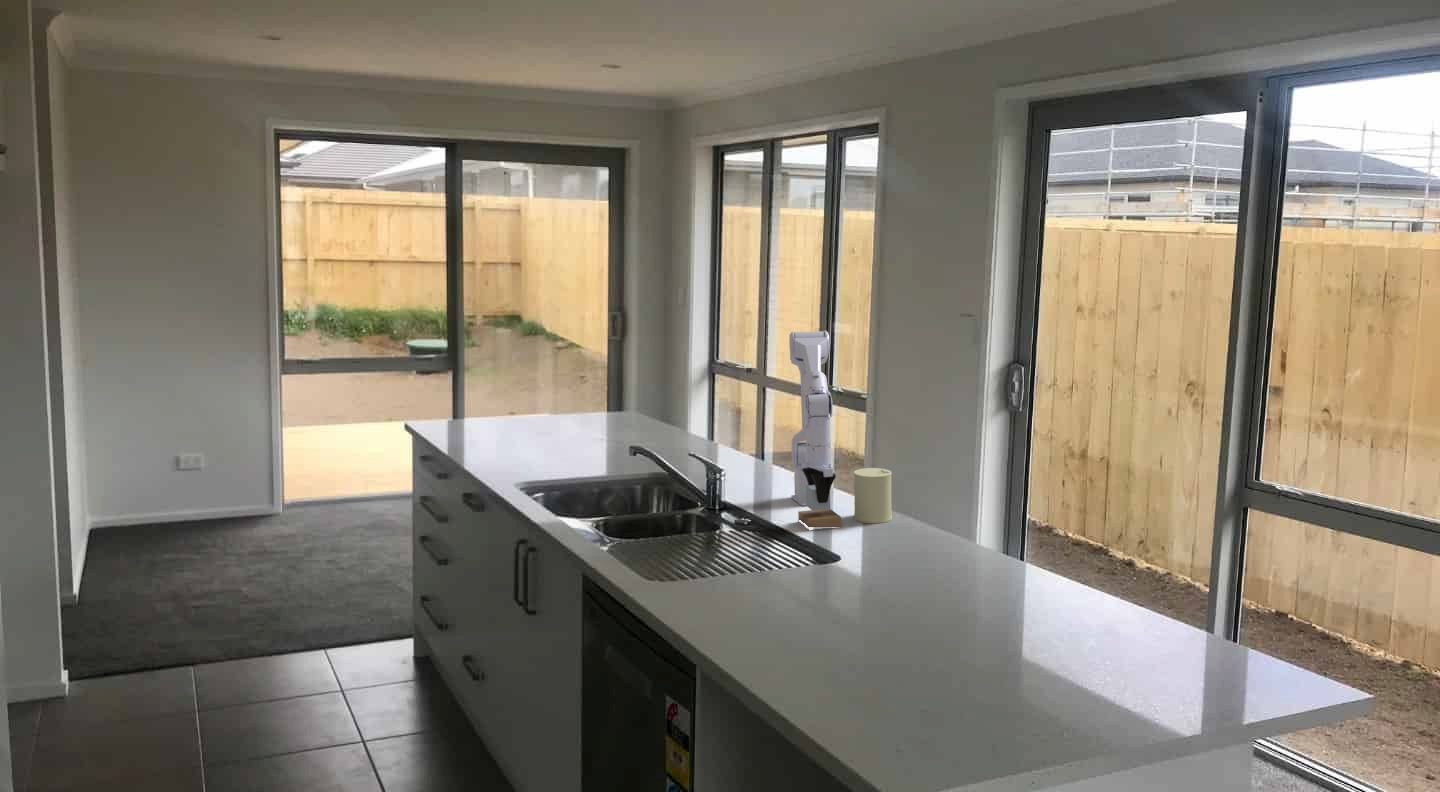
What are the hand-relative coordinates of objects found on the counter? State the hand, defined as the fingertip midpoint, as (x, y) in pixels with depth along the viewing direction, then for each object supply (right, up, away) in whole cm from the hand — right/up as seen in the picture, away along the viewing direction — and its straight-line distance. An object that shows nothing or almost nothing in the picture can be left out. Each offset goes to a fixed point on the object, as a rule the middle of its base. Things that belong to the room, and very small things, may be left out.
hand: (819, 499), depth 272 cm
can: (+14, -5, +5) cm, 15 cm away
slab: (0, -6, +1) cm, 6 cm away
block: (0, -2, 0) cm, 2 cm away
